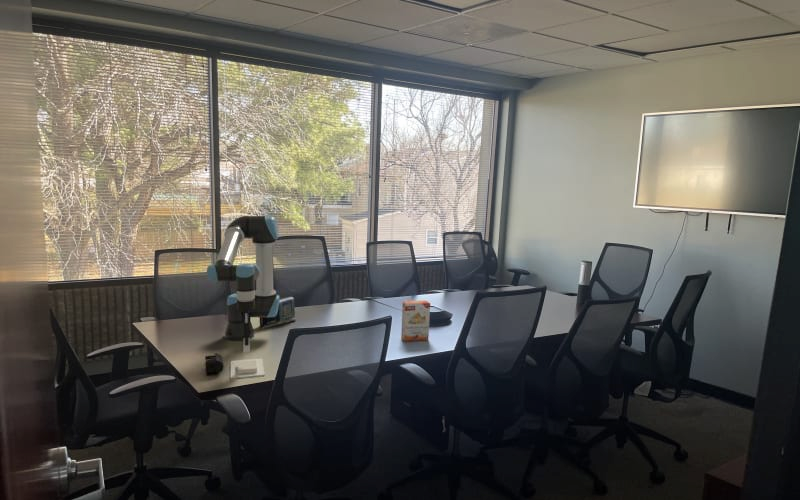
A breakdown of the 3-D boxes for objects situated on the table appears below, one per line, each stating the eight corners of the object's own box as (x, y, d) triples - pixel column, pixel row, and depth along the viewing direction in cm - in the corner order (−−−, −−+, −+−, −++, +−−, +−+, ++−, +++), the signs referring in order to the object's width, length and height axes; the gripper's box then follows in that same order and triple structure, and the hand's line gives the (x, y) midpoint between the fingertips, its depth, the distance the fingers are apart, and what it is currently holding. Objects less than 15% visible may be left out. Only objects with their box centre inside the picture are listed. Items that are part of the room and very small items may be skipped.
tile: (237, 361, 227) (237, 370, 218) (256, 360, 229) (256, 368, 220) (237, 366, 227) (237, 374, 218) (256, 364, 230) (257, 372, 220)
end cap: (223, 374, 219) (223, 359, 218) (206, 376, 216) (205, 361, 215) (222, 366, 228) (221, 352, 227) (205, 368, 225) (205, 354, 224)
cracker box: (404, 342, 267) (405, 303, 264) (400, 338, 273) (402, 300, 270) (429, 340, 271) (430, 302, 268) (425, 337, 277) (426, 299, 274)
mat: (230, 362, 233) (230, 360, 233) (262, 359, 237) (262, 358, 237) (230, 379, 214) (230, 377, 214) (264, 375, 219) (264, 374, 219)
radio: (260, 329, 283) (260, 303, 281) (254, 325, 290) (253, 300, 288) (297, 322, 298) (297, 297, 296) (290, 318, 304) (290, 294, 302)
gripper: (236, 296, 225) (237, 347, 228) (236, 303, 213) (237, 357, 216) (254, 295, 227) (255, 346, 231) (255, 302, 215) (256, 355, 218)
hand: (246, 351), depth 223 cm, fingers closed
